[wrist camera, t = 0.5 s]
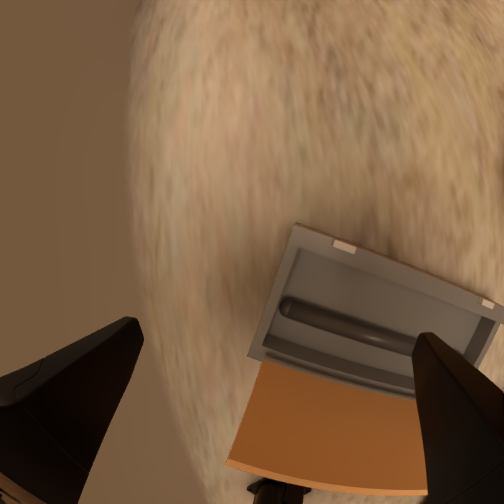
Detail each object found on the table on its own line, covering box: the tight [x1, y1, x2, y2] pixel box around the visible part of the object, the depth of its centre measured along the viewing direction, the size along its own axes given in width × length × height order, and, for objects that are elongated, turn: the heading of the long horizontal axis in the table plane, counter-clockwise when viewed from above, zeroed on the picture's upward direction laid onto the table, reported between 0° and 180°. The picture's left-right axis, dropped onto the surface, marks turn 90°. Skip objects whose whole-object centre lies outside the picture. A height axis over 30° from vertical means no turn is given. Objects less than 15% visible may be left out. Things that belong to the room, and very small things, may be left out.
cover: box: [225, 356, 428, 496], centre depth 15 cm, size 10×19×1 cm
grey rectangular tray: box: [247, 223, 504, 397], centre depth 21 cm, size 11×22×5 cm, turn 72°
